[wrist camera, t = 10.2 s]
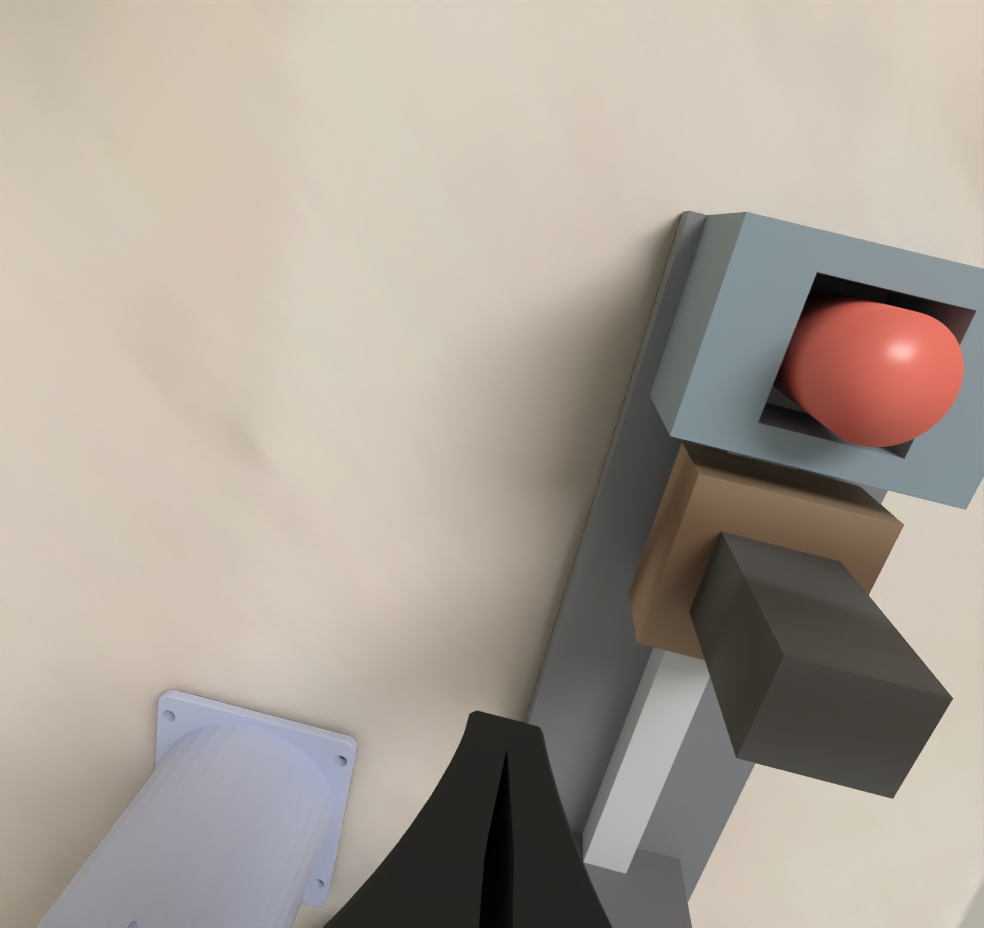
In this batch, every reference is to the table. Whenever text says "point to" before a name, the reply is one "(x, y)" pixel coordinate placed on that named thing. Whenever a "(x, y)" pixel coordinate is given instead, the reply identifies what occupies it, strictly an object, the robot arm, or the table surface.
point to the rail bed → (636, 499)
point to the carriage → (787, 618)
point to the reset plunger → (870, 369)
